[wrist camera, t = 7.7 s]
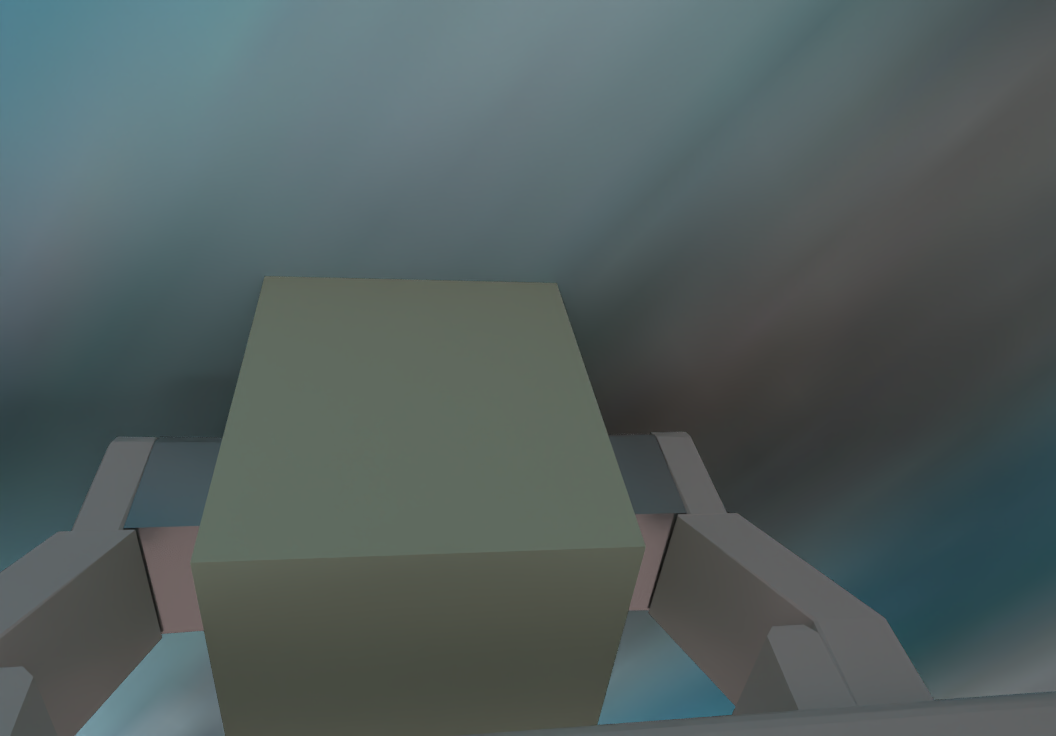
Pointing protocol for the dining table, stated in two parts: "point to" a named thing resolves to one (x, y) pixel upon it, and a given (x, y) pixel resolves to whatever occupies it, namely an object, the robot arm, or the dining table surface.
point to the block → (413, 516)
